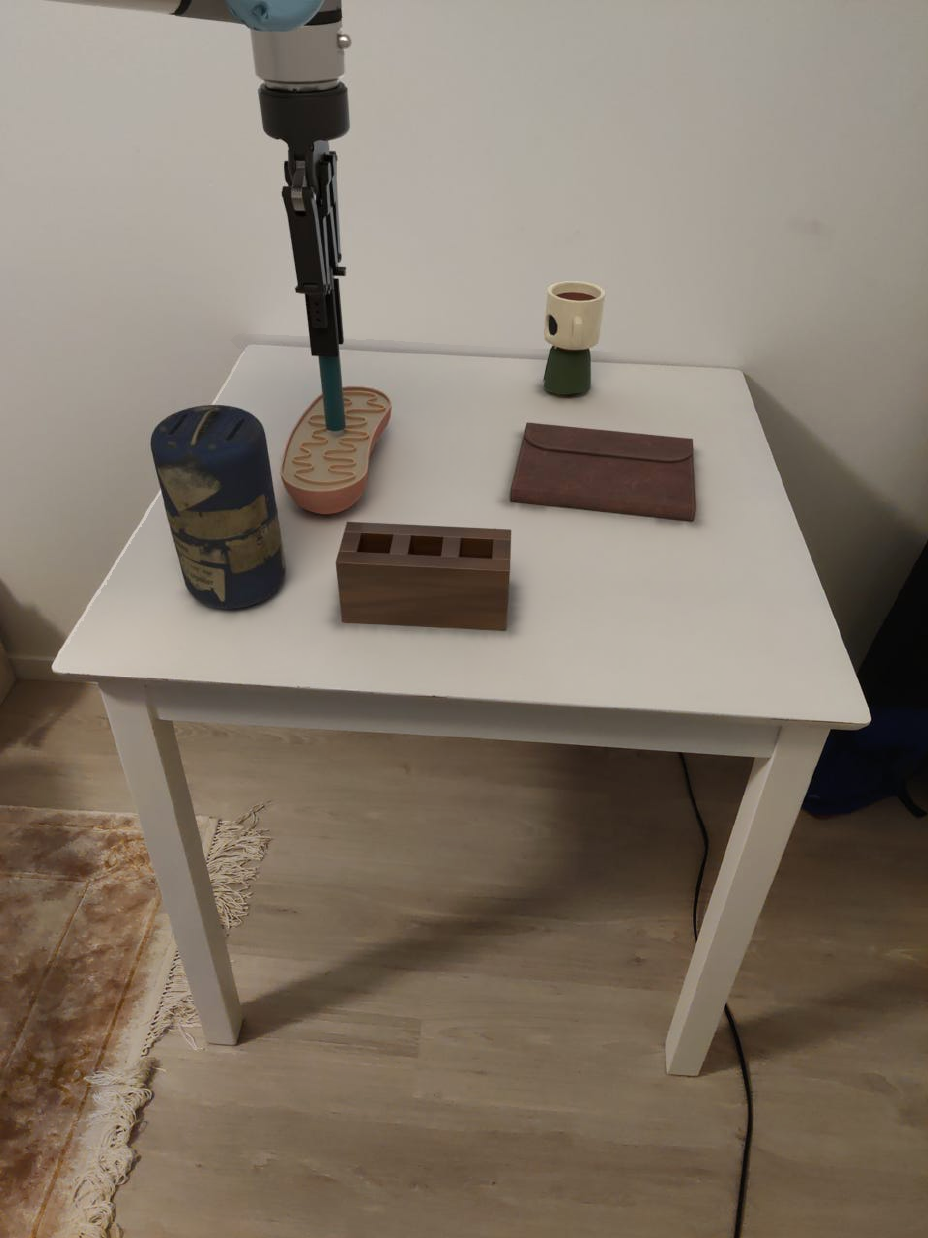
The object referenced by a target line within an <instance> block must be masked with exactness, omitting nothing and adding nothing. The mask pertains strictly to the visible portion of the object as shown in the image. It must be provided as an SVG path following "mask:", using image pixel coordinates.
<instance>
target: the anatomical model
mask: <svg viewBox="0 0 928 1238" xmlns="http://www.w3.org/2000/svg"><path fill="white" fill-rule="evenodd" d="M342 387H343V398H344V410H345V421H346V427H345V428H344V429H343V430H341V431H329V430H327V429H326V425H325V416H324V406H323V396H322V393H320V394H319V395H318V396H317V397H316V398H314V399H313V401H312V402H311V403H310V404H309V406H307V408H306V409H305V410H304V411H303V412H302V414H301V415H300V417H299V418H298V420H297V421H296V422H295V424H294V425H293V428H292V429H291V431H290V434H289V435H288V438H287V440H286V444H285V446H284V449H283V454H282V458H281V463H280V468H279V472H280V473H279V474H280V477H281V481H282V483H283V488H284V489H285V491H286V492H287V494H288V496H289V497H290V498H291V500H292V501H293V502H294V503H296V504H297V505H298V506H299V507H301V508H303V509H305V510H307V511H308V512H312V513H315V514H321V515H332V514H337V513H340V512H343V511H345V510H347V509H348V508H350V507H352V506H353V505H354V504H356V502H357V501H358V500H359V499H360V497H362V495H363V493H364V491H365V489H366V487H367V482H368V476H369V464H370V458H371V455H372V452H373V449H374V447H375V444H376V443H377V442H378V441H379V439H380V437H381V436H382V434H383V433H384V431H385V430H386V428H387V426H388V425H389V422H390V419H391V416H392V407H393V405H392V400H391V398H390V397H389V396H388V394H386V393H385V392H383V391H381V390H378V389H376V388H373V387H369V386H363V385H346V386H342Z"/></svg>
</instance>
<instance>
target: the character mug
mask: <svg viewBox="0 0 928 1238" xmlns="http://www.w3.org/2000/svg"><path fill="white" fill-rule="evenodd" d="M546 293H547V294H546V306H545V316H544V331H543V337H544V340H545V342H546V343H548V344H549V345H552V346H551V347H550V349H549V352H548V357H547V361H546V364H545V369H544V375H543V380H542V383H543V388H544V389H546V390H547V391H548V392H550V393H552V394H556V395H572V394H573V395H574V394H581V393H585V392H588V391H589V389H591V387H592V356H591V350H590V349H592V348H594V347H595V346H596V345H598V344H599V340H600V336H601V329H602V322H603V315H604V314H603V313H604V305H605V297H606V291H605V290H604V288H602V287H601V286H599V285H597V284H595V283H591V282H588V281H581V280H579V281H578V280H565V281H560V282H556V283H554V284H551V285H549V286H548V288H547V292H546Z"/></svg>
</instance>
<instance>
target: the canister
mask: <svg viewBox="0 0 928 1238" xmlns="http://www.w3.org/2000/svg"><path fill="white" fill-rule="evenodd" d="M261 422H262V421H260V419H259V418H258V417H256V415H254V414H252V413H251V412H250V411H247V410H246V409H243V408H240V407H236V406H231V405H224V404H204V405H198V406H197V405H196V406H193V407H188V408H184V409H182V410H178V411H176V412H174V413H172V414H170V415H168V416H167V417H165V418H164V419H162V420H161V421H160V422H159V423H158V424H157V425H156V426H155V427H154V429H153V431H152V433H151V436H150V443H149V445H150V451H151V454H152V460H153V464H154V468H155V472H156V476H157V480H158V484H159V488H160V493H161V496H162V499H163V506H164V510H165V514H166V518H167V522H168V525H169V528H170V534H171V537H172V542H173V544H174V548H175V551H176V554H177V558H178V562H179V567H180V570H181V574H182V579H183V582H184V584H185V585H184V586H185V587H186V589H187V591H188V593H189V594H190V595H191V596H192V597H193V598H194V599H196V600H197V601H199V602H200V603H202V604H204V605H205V606H209V607H212V608H217V609H229V610H230V609H239V608H245V607H249V606H252V605H256V604H258V603H261V602H263V601H264V600H266V599H267V598H269V597H270V596H272V595H273V594H274V593H275V592H276V591H277V590H278V589H279V588H280V587H281V586H282V584H283V581H284V580H285V576H286V559H285V551H284V546H283V538H282V531H281V524H280V520H279V519H280V518H279V511H278V506H277V501H276V495H275V489H274V482H273V473H272V468H271V462H270V455H269V454H270V453H269V448H268V442H267V441H268V440H267V435H266V431H265V429H264V426H263V424H262V423H261Z"/></svg>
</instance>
